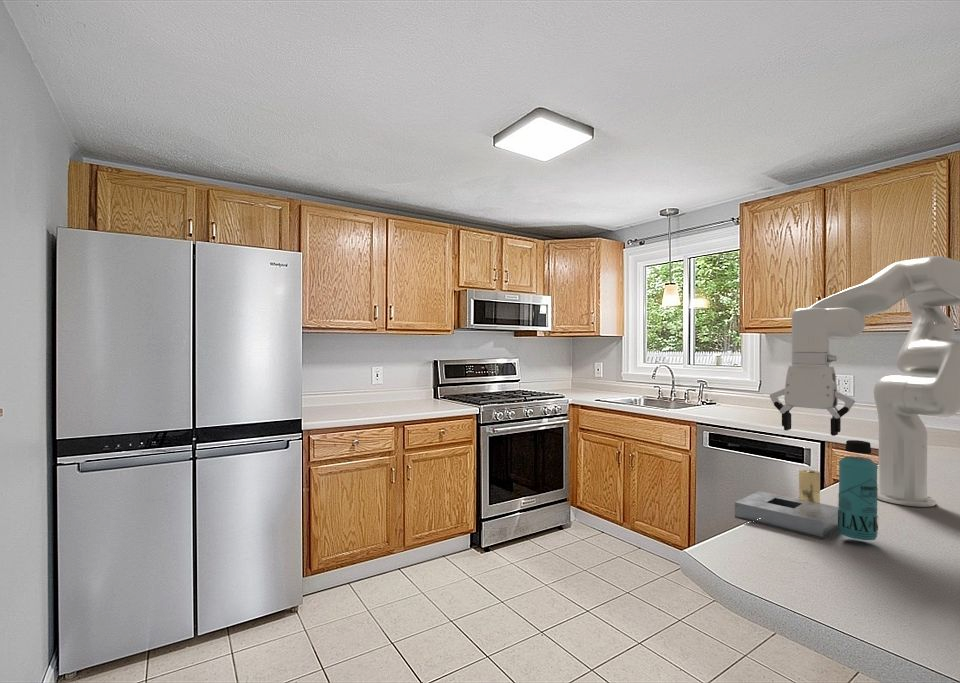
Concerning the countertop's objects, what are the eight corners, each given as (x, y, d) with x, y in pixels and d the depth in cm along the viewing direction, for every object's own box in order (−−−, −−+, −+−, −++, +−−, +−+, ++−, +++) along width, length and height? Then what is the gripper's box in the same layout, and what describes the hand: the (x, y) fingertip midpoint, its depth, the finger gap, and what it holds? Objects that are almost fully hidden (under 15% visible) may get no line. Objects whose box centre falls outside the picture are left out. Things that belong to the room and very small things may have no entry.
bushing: (802, 505, 125) (802, 468, 125) (822, 509, 122) (822, 471, 122) (796, 509, 122) (796, 470, 122) (816, 513, 119) (816, 474, 119)
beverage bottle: (829, 538, 103) (829, 438, 103) (852, 534, 105) (852, 437, 106) (863, 550, 97) (863, 444, 97) (886, 546, 99) (886, 442, 99)
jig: (758, 505, 124) (758, 490, 125) (842, 523, 112) (842, 507, 112) (734, 517, 115) (734, 502, 115) (822, 539, 102) (822, 521, 102)
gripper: (858, 360, 118) (858, 435, 118) (775, 359, 131) (775, 426, 130) (850, 361, 113) (850, 439, 113) (764, 359, 126) (764, 429, 125)
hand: (810, 432), depth 121 cm, fingers open, 9 cm apart
